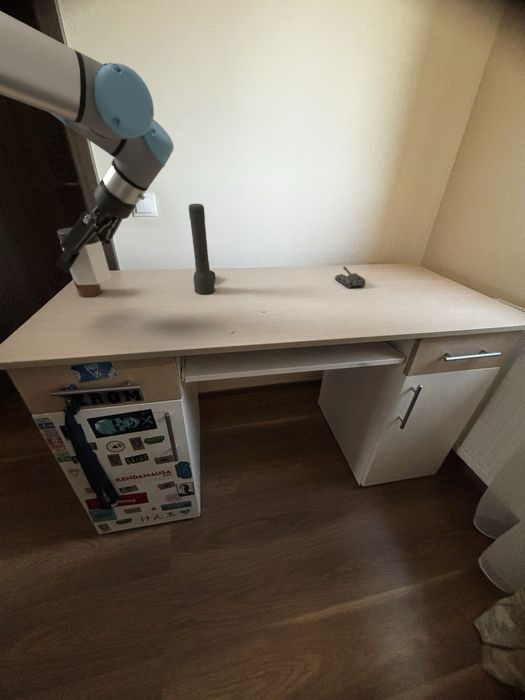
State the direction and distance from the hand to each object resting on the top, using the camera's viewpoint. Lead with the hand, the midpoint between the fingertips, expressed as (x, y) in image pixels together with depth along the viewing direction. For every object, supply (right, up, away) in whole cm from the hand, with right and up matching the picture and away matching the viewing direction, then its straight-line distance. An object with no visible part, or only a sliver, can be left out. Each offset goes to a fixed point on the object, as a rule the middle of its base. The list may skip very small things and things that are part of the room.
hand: (75, 262), depth 70 cm
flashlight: (+26, 0, +32) cm, 41 cm away
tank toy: (+82, +5, +44) cm, 93 cm away
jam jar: (-12, -3, +26) cm, 29 cm away
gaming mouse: (+25, +4, +40) cm, 47 cm away
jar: (+3, -4, +2) cm, 5 cm away
